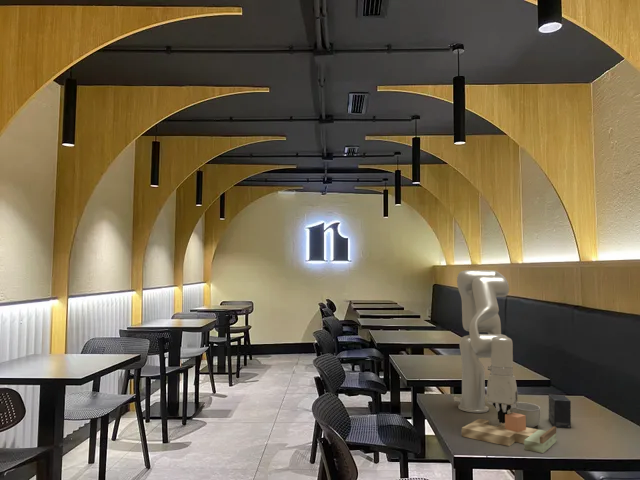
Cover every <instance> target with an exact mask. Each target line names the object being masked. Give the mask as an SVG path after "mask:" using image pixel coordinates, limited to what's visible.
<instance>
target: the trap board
mask: <svg viewBox="0 0 640 480" xmlns="http://www.w3.org/2000/svg"><path fill="white" fill-rule="evenodd" d="M462 437H464V438H469V439H472V440H476V441H477V440H478V441H483V442H488V443H492V444H497V445H503V446H507V447H510V446H512V445H513V444H514V443H519V444H522V445H523V448H524V450H525V451H531V452H536V453H541V454H544V453H545V452H547V451H548V450H549V449H550V448H551V447H552V446H553V445H555V443H557V441H558V440H557V427H554V426H553V425H552V427H550V428H549V429H548V430H543V429H538V428H528V427H526V430H523V431H519V432H515V431H512V430H508V429H505V423H499V424H498V425H491V424H490V420H488V419H483V418H478V419H475V420H473V421H472V422H470V423H468V424H466V425H465V426H462V427H461V438H462Z"/></svg>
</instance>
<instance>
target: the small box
mask: <svg viewBox="0 0 640 480" xmlns="http://www.w3.org/2000/svg"><path fill="white" fill-rule="evenodd" d="M571 404H572V402H571V400H570V399H569V398H568V397H567V396H565V394H563V395H561V394H551V393H549V394H548V422H549V423H550V424H551V425H552V427H553V426H554V427H556V428H562V429H563V428H565V429H571V428H572V425H571V424H572V422H571V421H572V419H571V417H572V413H571V411H572V410H571V408H572V405H571Z"/></svg>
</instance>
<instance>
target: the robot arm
mask: <svg viewBox="0 0 640 480" xmlns="http://www.w3.org/2000/svg"><path fill="white" fill-rule="evenodd" d="M456 278H457V279H456V284H457V290H458V292H459V295H460V298H461V314H462V316H461V322H462V327H463V330H464V331H466V332H469V334H468V335H464V336H462V337H461V338H460V339H459V351H460V356H461V396H459V397H458V396H454V397H453V402H454V403H458V406H457V407H458V409H459V410H460V411H463V412H468V413H476V414H479V413H481V414H482V413H487V412H489V410H490V407H489V406H487V405H486V403H485V402H486V400H487V404H489V405H491V406H493V407H494V408H495V409H496V411H497V420H498V423H499V424H501V423H505V414H508V412H509V411H510V408H517V407H518V405H517V402H518V398H519V396H518V386H517V381H516V376H515V375H514V366H513V364H514V363H513V362H514V355H513V351H514V350H513V348H514V347H513V346H514V345H513V340H512V338H510V337H509V336H507V335H505V334H502V324H501V318H500V315H499V311H500V309H499V304H498V300H497V299H498V298H505V297H507V296H508V294H509V292H510V285H509V282H508V280H507V277H506V276H504V275H503V274H502V273H500V272H499V271H498V270H493V269H491V270H489V269H466V270H461V271H459V273H458V275H457V277H456ZM482 358H483V359H486V358H488V359H489V358H490V360H491V361H490V363H491V364H490V366H487V370H488V371H490V373H489V374H488V377H487V383H485V382H486V381H485V380H486V379H485V378H486V374H485V373H486V370H485V366H484V364H483V363H482V362H481V361H480V359H482ZM486 384H487V386H486ZM502 407H503V410H502Z"/></svg>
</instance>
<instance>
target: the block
mask: <svg viewBox="0 0 640 480" xmlns="http://www.w3.org/2000/svg"><path fill="white" fill-rule="evenodd" d="M505 429H508V430H512V431H515V432H519V431H523V430H526V415H522V414H518V413H514V412H513V413H511V412H509V413H507V414H505Z"/></svg>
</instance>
